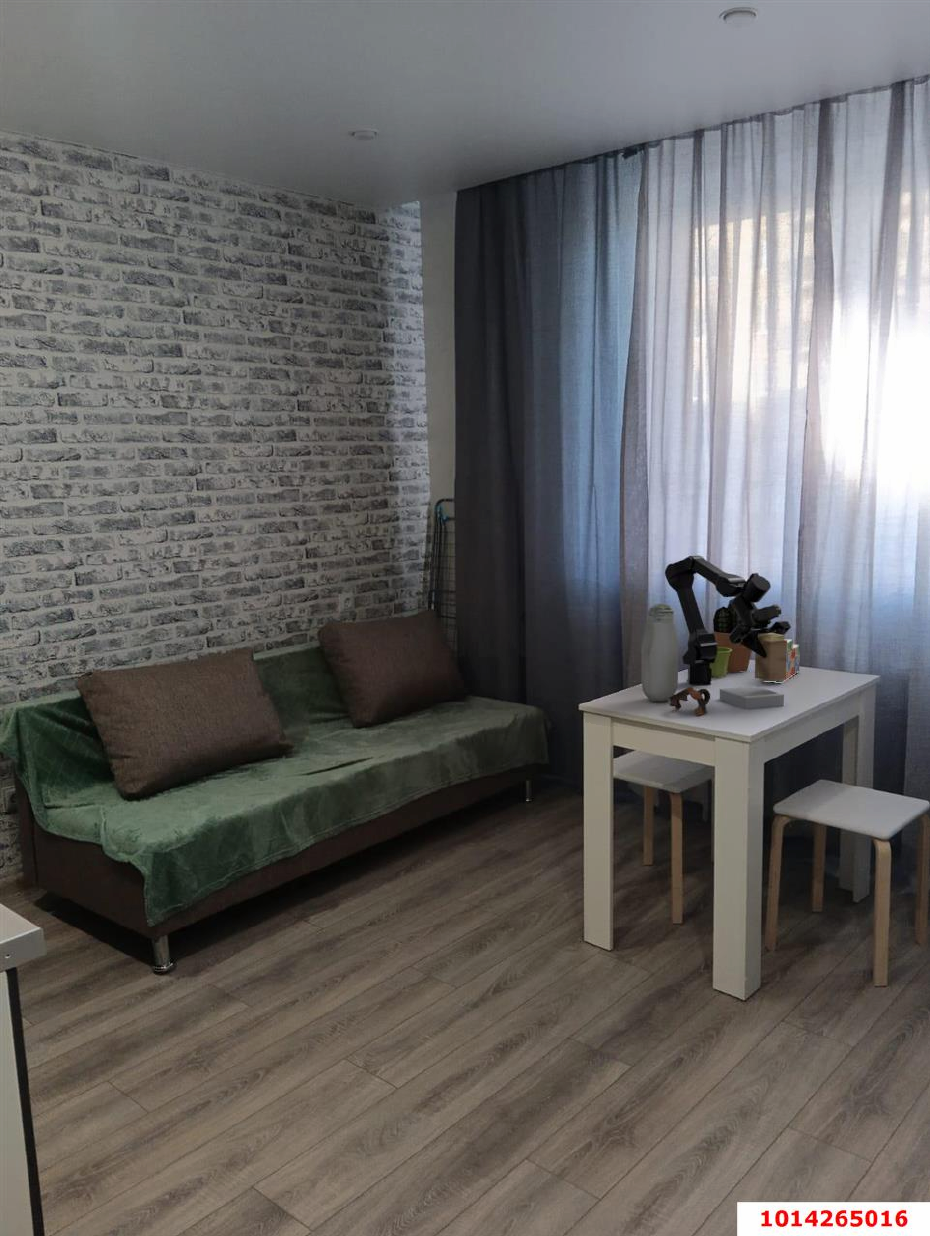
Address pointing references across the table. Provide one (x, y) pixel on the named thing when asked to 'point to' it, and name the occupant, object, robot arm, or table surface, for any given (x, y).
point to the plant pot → (720, 662)
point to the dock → (751, 697)
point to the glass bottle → (660, 654)
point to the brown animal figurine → (695, 695)
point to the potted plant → (723, 628)
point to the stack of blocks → (791, 659)
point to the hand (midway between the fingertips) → (774, 656)
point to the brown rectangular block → (771, 657)
